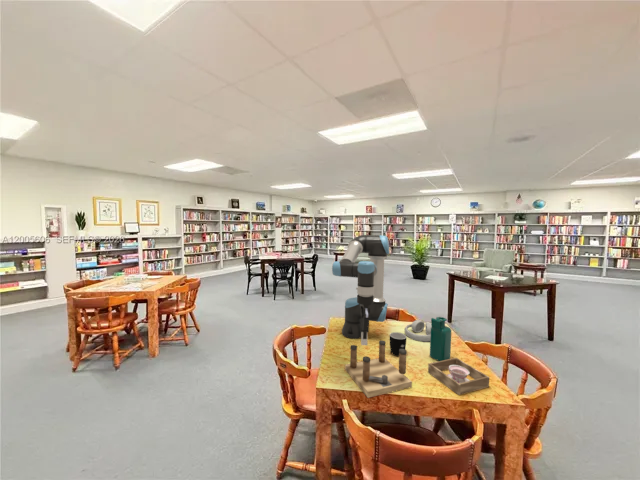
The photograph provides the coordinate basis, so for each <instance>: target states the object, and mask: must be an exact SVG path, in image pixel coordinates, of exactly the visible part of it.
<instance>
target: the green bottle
mask: <svg viewBox="0 0 640 480" xmlns="http://www.w3.org/2000/svg"><path fill="white" fill-rule="evenodd" d="M430 320H431V321H430V323H431V325H432V327H431V334H430V341H429V357H430V358H432V359H434V360H436V361H437V362H438V361H443V360H447V359H451V354H452V353H451V350H452V349H451V348H452V347H451V346H452V328H450V327H449V326H446V321H448V319H447V318H446V317H442V316H436V318H434V317H432V318H430Z"/></svg>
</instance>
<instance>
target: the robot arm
mask: <svg viewBox="0 0 640 480" xmlns="http://www.w3.org/2000/svg"><path fill="white" fill-rule="evenodd" d="M360 254H367V257H368V258H369V259H370V260H369V261H368V260H367V261H366V260H361V261H359V262H356V261H357V259H358V257H359V255H360ZM388 255H390V243H389V238H388V236H386V235H381V234H375V235H374V234H371V235H370V234H369V235H368V234H361V235H358V236H356V237H354V238H352V239H351V240H350V241H349V242H348V244H347V249H346V251H345V253H344V254H343V256H342V257H341V259H340V261H339V260H337V261H333V263H332V268H331V269H332V270H331V272H332V274H333V276H336V277H345V278H348V277H349V278H357V287H356V288H355V290H357V291H356V293H357V296H355V297H350V298H348V299H346V300H345V302H344V322H343V326H342V328H341V335H342V336H343V337H345V338H347V339H348V338H349V339H354V340H355V339H357V340H358V339H360V344H361V346H368V338H369V337H368V335H369V334H368V333H369V329H370V328H369V327H370V321H371V322H378V323H379V322H381V323H384V322H385V321H386V316H387V311H388V305H389V304H388V303H387V302H386V300H385V298H384V279H385V278H384V277H385V274H384V273H385V260H386V259H387V257H388Z"/></svg>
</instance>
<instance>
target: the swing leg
mask: <svg viewBox="0 0 640 480" xmlns="http://www.w3.org/2000/svg"><path fill="white" fill-rule="evenodd" d="M370 360H371V357H369V356H367V355H366V356H363V357H362V361H363V380H364V381H374V382H381V383H384V384H387V383H388V377H387V376H386V375H383V376H382V378H381V377H374V376H370Z"/></svg>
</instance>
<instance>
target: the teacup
mask: <svg viewBox="0 0 640 480" xmlns="http://www.w3.org/2000/svg"><path fill="white" fill-rule="evenodd" d="M448 367H449V368H448V369H447V370H448V372H449V373H448V374H447V375H448V376H449V377H450V378H452V379H453V380H455V381H456V382H458V383H463V382H466V381H470V379H469V378H467V376H469V374H470V372H469V371H468V370H467V369H466V368H464V367H462V366H458V365H450V366H448Z"/></svg>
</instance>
